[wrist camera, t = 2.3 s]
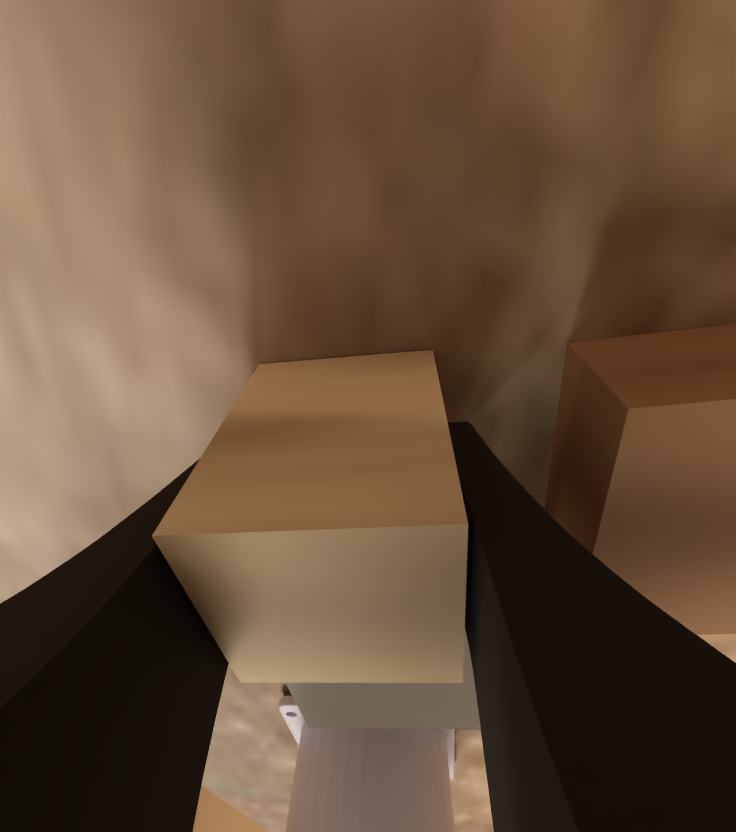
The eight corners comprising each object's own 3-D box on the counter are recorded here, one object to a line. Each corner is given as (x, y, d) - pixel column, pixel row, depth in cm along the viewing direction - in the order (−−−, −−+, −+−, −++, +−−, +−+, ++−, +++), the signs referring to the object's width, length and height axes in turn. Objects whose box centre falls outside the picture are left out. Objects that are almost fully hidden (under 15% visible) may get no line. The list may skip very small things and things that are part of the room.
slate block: (492, 639, 16) (510, 730, 14) (321, 642, 17) (308, 727, 14) (500, 518, 12) (528, 612, 10) (279, 529, 13) (252, 619, 11)
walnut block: (780, 529, 12) (884, 629, 9) (536, 542, 13) (572, 638, 10) (923, 295, 8) (1159, 359, 6) (561, 337, 9) (627, 408, 6)
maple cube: (436, 483, 11) (462, 683, 7) (295, 490, 12) (240, 682, 7) (432, 349, 9) (468, 524, 5) (259, 363, 9) (151, 536, 5)
